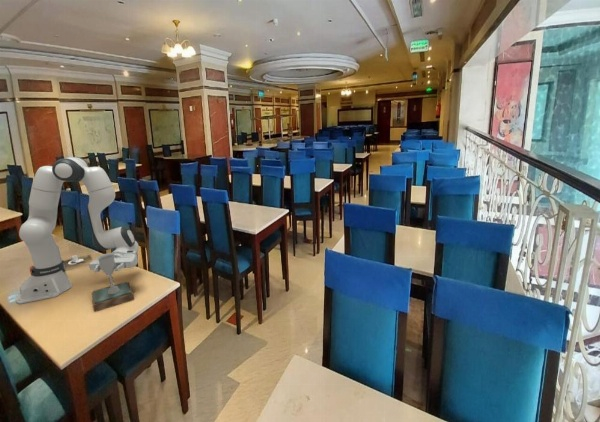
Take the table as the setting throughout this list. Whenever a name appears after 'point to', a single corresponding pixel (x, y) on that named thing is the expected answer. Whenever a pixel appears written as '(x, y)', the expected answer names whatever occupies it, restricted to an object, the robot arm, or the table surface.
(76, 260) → the teacup and saucer
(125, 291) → the plinth
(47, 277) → the robot arm
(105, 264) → the chalice
